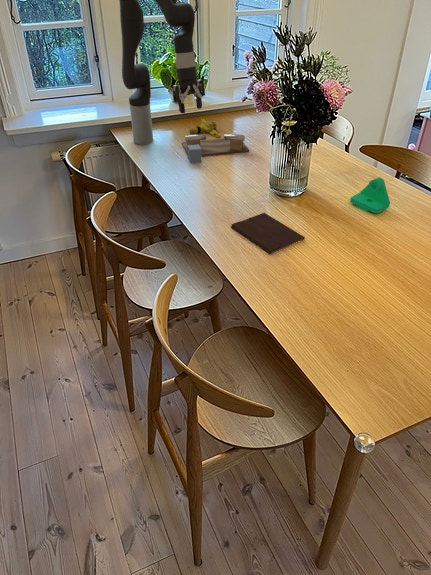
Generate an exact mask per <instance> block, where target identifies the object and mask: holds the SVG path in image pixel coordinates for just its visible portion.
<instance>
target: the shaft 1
mask: <svg viewBox="0 0 431 575" xmlns="http://www.w3.org/2000/svg"><path fill="white" fill-rule="evenodd" d="M190 135H191V136H187V135H185V136H184V138H185V142H187V141H188V138H198V137H199V138H200V141H202V140H207V135H206V134H205V133H204V134H198V135H194V134H190Z"/></svg>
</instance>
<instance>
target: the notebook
mask: <svg viewBox="0 0 431 575" xmlns="http://www.w3.org/2000/svg"><path fill="white" fill-rule="evenodd" d="M230 228H231V229H232V230H234V231H235V232H237V234H239V235H241V236H242V237H244V239H246V240H248V241H249V242H251V243H253V244H254V245H255V246H257V247H258V248H260V250H262V251H264V252H266V253H267V254H268V255H273V254H276V253H277V252H279V251H281V249H282V250H284V249H286V248H288V247H290V245H291V246H292V244H293V245H294V243H295V244H297V243H299V242H298V241H300V242H302V241H304V240H305V239H306V237H305V236H304V235H303V234H300V233H298V232H297V231H295V230H294V229H292V228H290V227H289V226H287V225H286V224H284V223H283V222H281V221H279V220H278V219H276V218H274V217H272V216H271V215H270V214H267V213H266V212H262V213H259V214H256V215H254V216H252V217H249V218H246V219H244V220H239V221H237V222H234V223H232V224H231V226H230ZM303 239H304V240H303ZM301 240H302V241H301ZM296 242H297V243H296ZM272 253H273V254H272Z"/></svg>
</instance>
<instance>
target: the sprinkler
mask: <svg viewBox="0 0 431 575" xmlns="http://www.w3.org/2000/svg"><path fill="white" fill-rule="evenodd" d="M200 120H201V122H200V123H199V125H198V126H195V127H192V128H190V129H188V131H189V132H188V133H189V135H194V134H200V133H202V132H206V133H207V134H210V136H212V137H214V138H215V139H219V138H220V137H221V134H219V133H218V132H217V131H216V130H217V126H218V125H217V123H216V121H212V122H211V123H209V124H208V121H206V119H205V118H204V117H202V118H200Z"/></svg>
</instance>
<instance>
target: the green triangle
mask: <svg viewBox="0 0 431 575" xmlns="http://www.w3.org/2000/svg"><path fill="white" fill-rule="evenodd" d="M349 203H352V204H354V205H356V208H357V209H359V208H360V210H361V209H362V210H361V211H364V212H366V213H368V211H369V212H372V213H374V214H379V213H381V212H383V211H385V210H386V209H388V208H390V207H391V206H390V205H391V201H390V198H389V194H388V190H387V187H386V183H385V180H384V179H383V178H382V177H376V178H373V179H371V180H369V182H368V184H367V185H366V186H365V187H364V188H363V189H362V190H360V192H358V193H356V194H354V195H352V196H350V199H349Z"/></svg>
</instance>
